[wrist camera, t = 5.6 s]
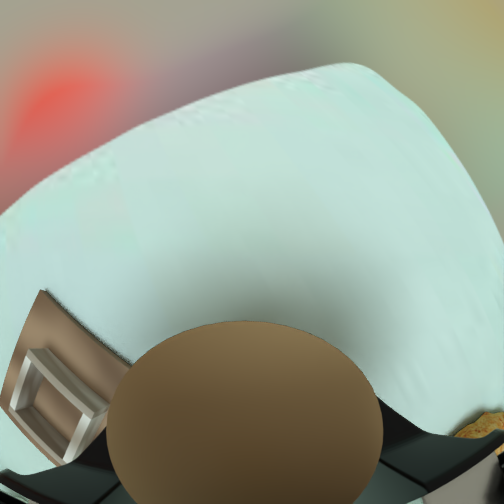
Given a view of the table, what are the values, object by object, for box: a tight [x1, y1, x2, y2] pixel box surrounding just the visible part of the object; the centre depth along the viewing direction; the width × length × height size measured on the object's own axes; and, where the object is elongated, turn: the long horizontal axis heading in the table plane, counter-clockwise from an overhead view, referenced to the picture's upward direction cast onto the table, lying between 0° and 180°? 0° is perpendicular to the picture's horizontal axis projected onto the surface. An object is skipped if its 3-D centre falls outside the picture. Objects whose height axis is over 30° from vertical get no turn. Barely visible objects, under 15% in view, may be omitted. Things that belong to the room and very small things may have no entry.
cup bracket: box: [0, 290, 132, 467], centre depth 17 cm, size 16×16×4 cm
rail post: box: [106, 321, 383, 504], centre depth 9 cm, size 4×4×13 cm
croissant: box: [454, 412, 504, 455], centre depth 16 cm, size 21×10×8 cm
